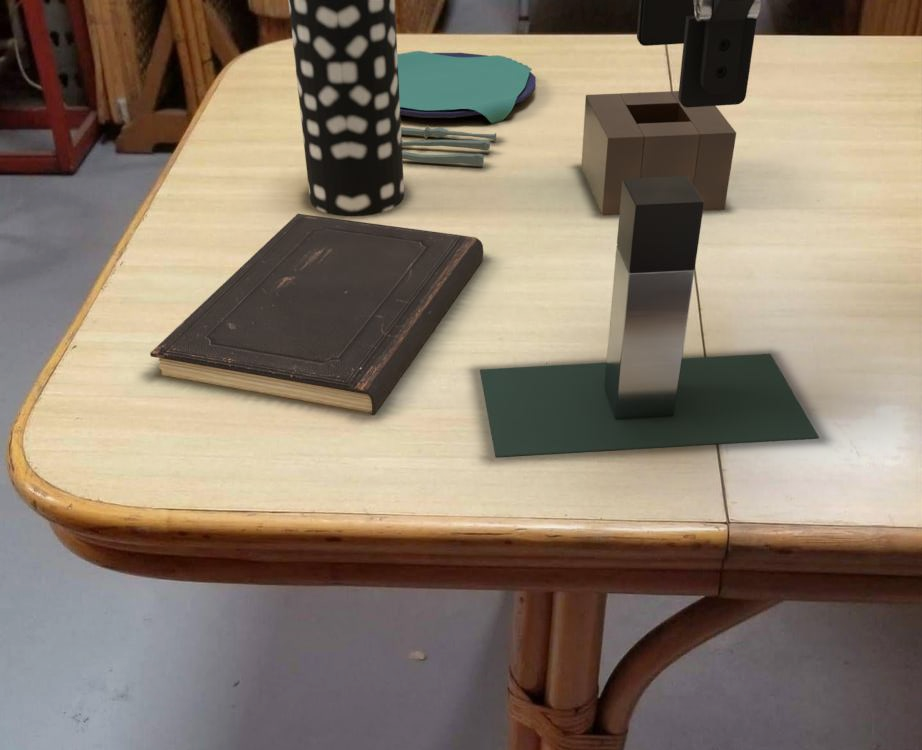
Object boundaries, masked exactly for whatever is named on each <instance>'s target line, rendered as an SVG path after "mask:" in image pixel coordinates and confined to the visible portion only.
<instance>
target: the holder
mask: <svg viewBox="0 0 922 750" xmlns="http://www.w3.org/2000/svg"><path fill="white" fill-rule="evenodd" d="M678 94H679V90H671V91H648V92H647V91H645V92H625V93H624V92H623V93H621V92H620V93H599V94H597V93H596V94H585V103H584V117H583V134H582V148H581V149H582V151H581V167H580V168H581V171H582V173H583V175H584V178H585V180H586V182H587V184H588V187H589V189H590V191H591V194H592V197H593V198H594V201H595V203H596V206H597V207H598V210H599V212H600V214H601V216H619V214H620V202H621V191H622V180H623V179H627V178H650V177H672V176H688V177H689V179H690V181H691V182H692V184H693V186H694V187H695V189H696V190H697V192H698V194H699V195H700V197H701V198H702V200H703V202H704V207H703V212H707V211H725V208H726V203H727V196H728V195H727V194H728V190H729V185H730V176H731V170H732V164H733V159H734V158H733V157H734V151H735V144H736V139H737V138H736V137H737V131H736V130H735V129H734V128H733V125H731V124H730V123H729V121H728V120H727V118H726V117H725V116H724V115H723V113H722V112H721V111H720V110H719V108H718V106H705V107H684V106H683V105H682V104H681V103H680V101H679V99H678Z"/></svg>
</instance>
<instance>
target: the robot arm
mask: <svg viewBox="0 0 922 750" xmlns="http://www.w3.org/2000/svg"><path fill="white" fill-rule="evenodd" d="M761 3H762V0H639V1H638V16H637V27H636V40H637V41H638V43H639V44H640V45H641V46H643V47H649V46H666V45H669V46H670V45H683V46H682V53H681V54H682V56H681V64H680V75H679V86H678V91H679V94H678V99H679V101H680V103H681V104H682V105H683V106H684V107H705V106H716V107H718V106H719V107H720V106H735V105H736V106H737V105H740V104H742V103H743V102H744V101H745V99H746V97H747V92H748V91H747V90H748V84H749V76H750V70H751V63H752V57H753V56H752V55H753V48H754V43H755V34H756V28H757V21H758V18H759V15H760V11H761V7H762V6H761Z"/></svg>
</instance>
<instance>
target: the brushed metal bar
mask: <svg viewBox="0 0 922 750" xmlns="http://www.w3.org/2000/svg"><path fill="white" fill-rule="evenodd" d="M703 207H704V202H703V200H702V198H701V197H700V195H699V194H698V192H697V190H696V189H695V187H694V186H693V184H692V182H691V181H690V179H689V177H688V176H672V177H650V178H627V179H623V180H622V191H621V202H620V214H619V215H618V226H617V235H616V249H615V259H614V261H615V262H614V270H613V271H614V272H613V283H612V293H611V294H612V295H611V305H610V315H609V317H610V318H609V319H610V320H609V327H608V328H609V329H608V339H607V351H606V362H605V363H606V372H605V383H604V388H605V391H606V394H607V397H608V400H609V403H610V406H611V409H612V412H613V415H614V418H615V419H631V418H649V417H666V416H674V412H675V405H676V398H677V391H678V384H679V377H680V369H681V362H682V358H683V355H684V354H683V353H684V348H685V340H686V334H687V326H688V319H689V312H690V305H691V298H692V291H693V285H694V279H695V278H694V276H695V269H696V263H697V257H698V256H697V255H698V249H699V243H700V235H701V228H702V220H703V213H704V211H703Z"/></svg>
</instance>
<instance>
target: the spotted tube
mask: <svg viewBox="0 0 922 750" xmlns="http://www.w3.org/2000/svg"><path fill="white" fill-rule="evenodd" d="M287 1H288V10H289V18H290V19H289V20H290V28H291V37H292V38H291V39H292V46H293V47H292V48H293V55H294V56H293V57H294V67H295V75H296V83H297V84H296V85H297V91H298V93H297V94H298V102H299V103H298V104H299V111H300V112H299V113H300V120H301V121H300V122H301V129H302V139H303V140H302V141H303V149H304V158H305V167H306V176H307V185H308V193H309V194H308V195H309V202H310V204H311V205H312V206H313V207H314V209H316V210H318V211H320V212H322V213H326V214H329V215H333V216H340V217H341V216H342V217H365V216H372V215H376V214H381V213H385V212H387V211H390V210H393V209H394V208H396V207H397V206H399V205H400V204H401V203H402V201H403V200H404V198H405V185H404V184H405V183H404V163H403V161H404V159H402V152H403V146H402V141H403V140H402V134H401V127H402V122H401V120H402V119H401V115H400V98H399V78H398V57H397V54H398V41H397V39H398V37H397V20H396V19H397V18H396V0H287Z"/></svg>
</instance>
